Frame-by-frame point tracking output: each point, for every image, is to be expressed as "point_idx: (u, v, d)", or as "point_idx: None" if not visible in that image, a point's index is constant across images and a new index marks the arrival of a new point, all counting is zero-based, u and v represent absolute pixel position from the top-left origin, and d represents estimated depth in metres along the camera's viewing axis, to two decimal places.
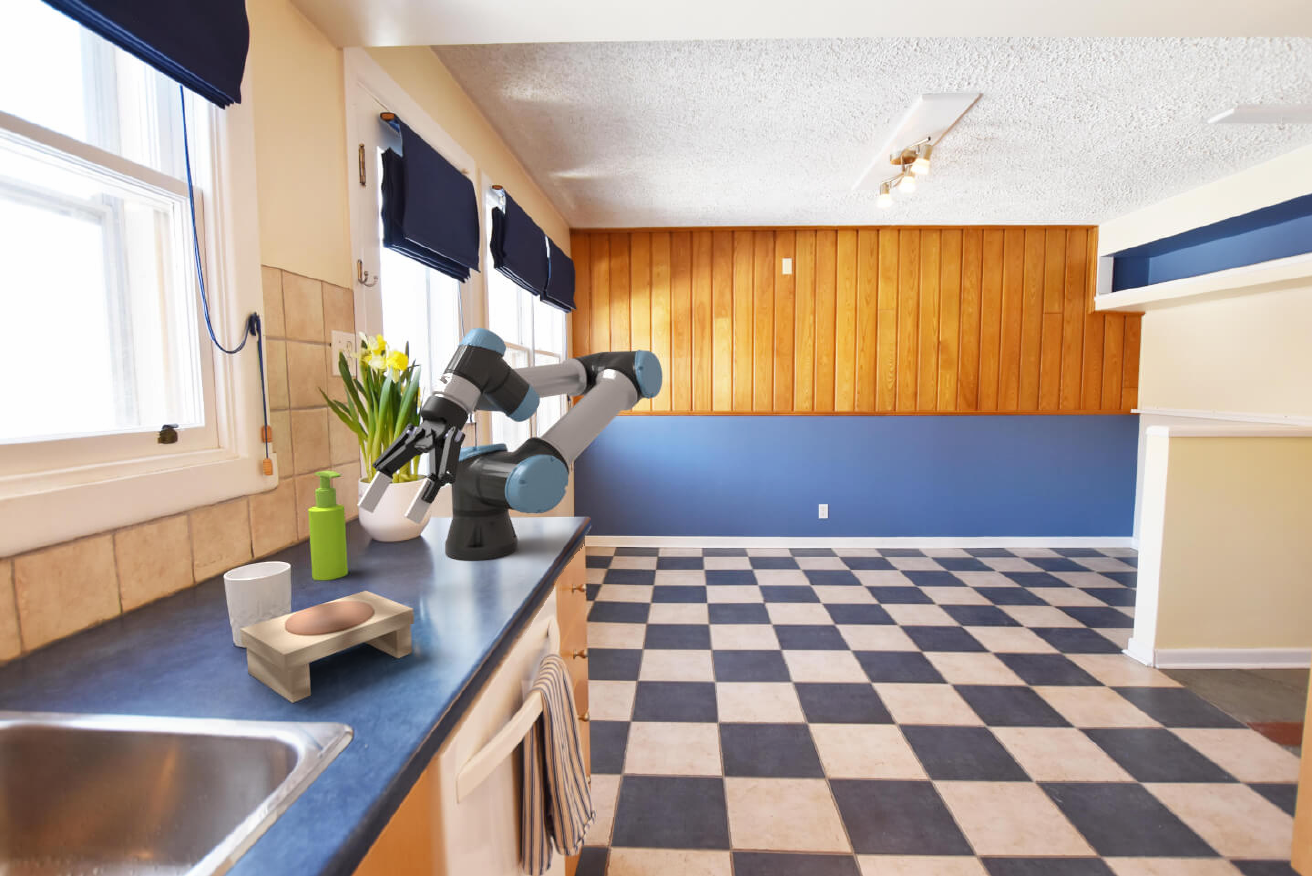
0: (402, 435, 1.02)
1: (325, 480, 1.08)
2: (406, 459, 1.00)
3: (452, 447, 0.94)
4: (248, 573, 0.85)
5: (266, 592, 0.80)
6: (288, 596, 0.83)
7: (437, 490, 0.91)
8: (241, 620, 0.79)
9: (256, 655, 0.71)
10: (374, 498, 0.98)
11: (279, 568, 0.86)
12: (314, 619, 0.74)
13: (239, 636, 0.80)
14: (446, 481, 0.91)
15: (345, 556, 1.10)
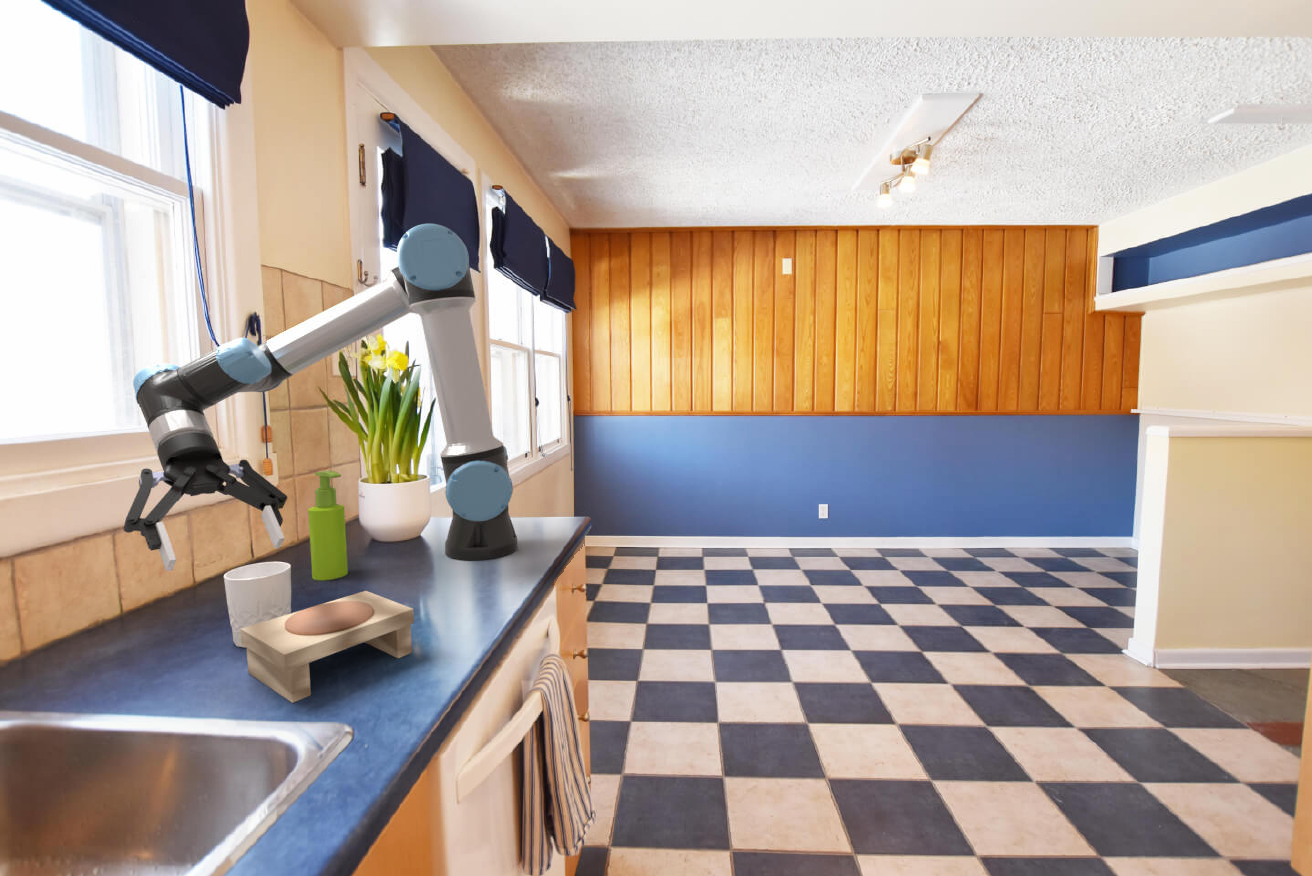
0: None
1: (325, 480, 1.08)
2: (241, 492, 0.92)
3: None
4: (248, 573, 0.85)
5: (266, 592, 0.80)
6: (288, 596, 0.83)
7: (146, 533, 0.81)
8: (241, 620, 0.79)
9: (256, 655, 0.71)
10: (272, 531, 0.92)
11: (279, 568, 0.86)
12: (314, 619, 0.74)
13: (239, 636, 0.80)
14: (131, 526, 0.80)
15: (345, 556, 1.10)
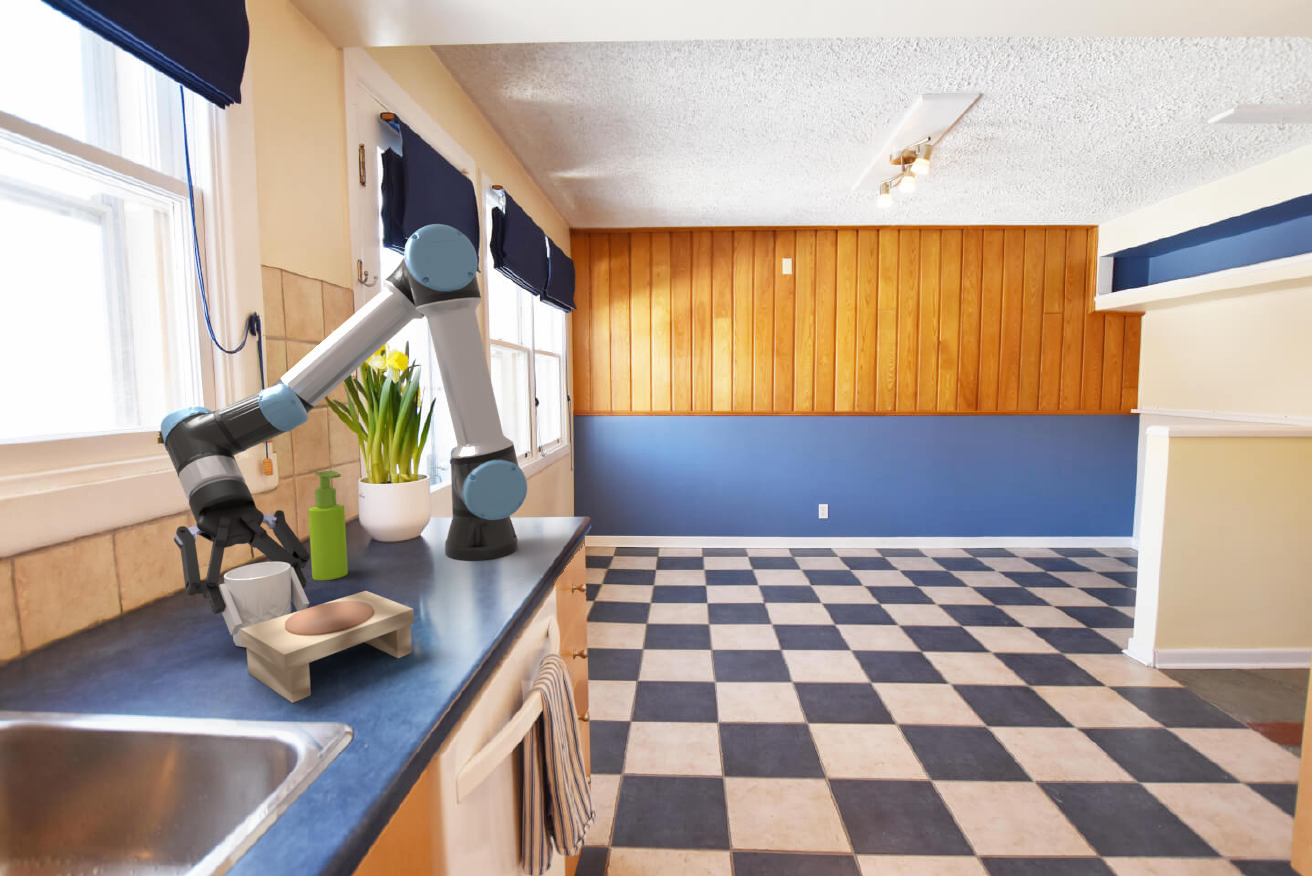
0: None
1: (325, 480, 1.08)
2: (267, 548, 0.87)
3: (182, 555, 0.80)
4: (248, 573, 0.85)
5: (266, 592, 0.80)
6: (288, 596, 0.83)
7: (209, 596, 0.78)
8: (241, 620, 0.79)
9: (256, 655, 0.71)
10: (296, 596, 0.85)
11: (279, 568, 0.86)
12: (314, 619, 0.74)
13: (239, 636, 0.80)
14: (194, 590, 0.78)
15: (345, 556, 1.10)
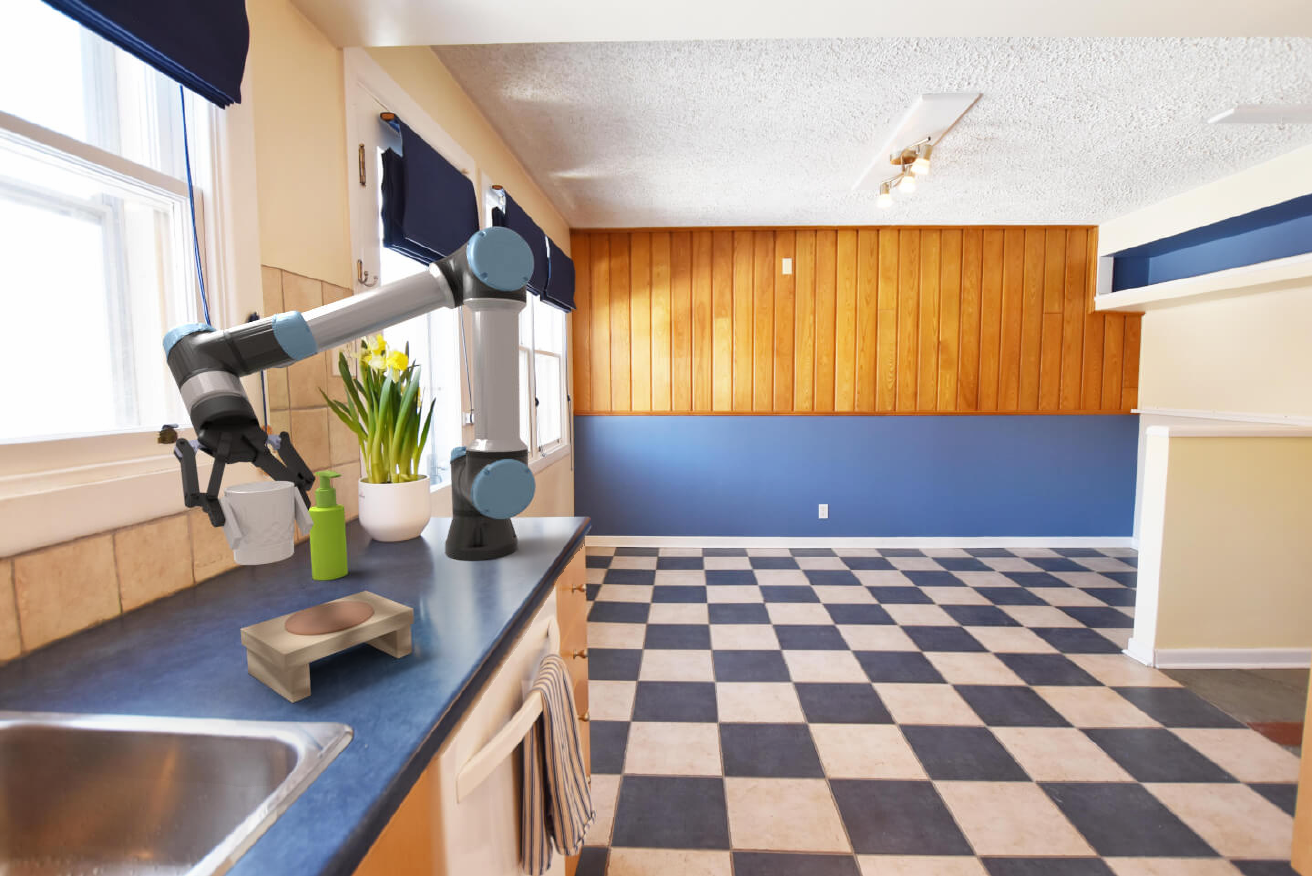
0: None
1: (325, 480, 1.08)
2: (271, 467, 0.83)
3: (182, 468, 0.76)
4: (250, 491, 0.81)
5: (268, 507, 0.76)
6: (291, 515, 0.79)
7: (209, 509, 0.74)
8: (242, 535, 0.76)
9: (256, 655, 0.71)
10: (300, 516, 0.81)
11: (283, 487, 0.82)
12: (314, 619, 0.74)
13: (240, 553, 0.76)
14: (193, 501, 0.74)
15: (345, 556, 1.10)
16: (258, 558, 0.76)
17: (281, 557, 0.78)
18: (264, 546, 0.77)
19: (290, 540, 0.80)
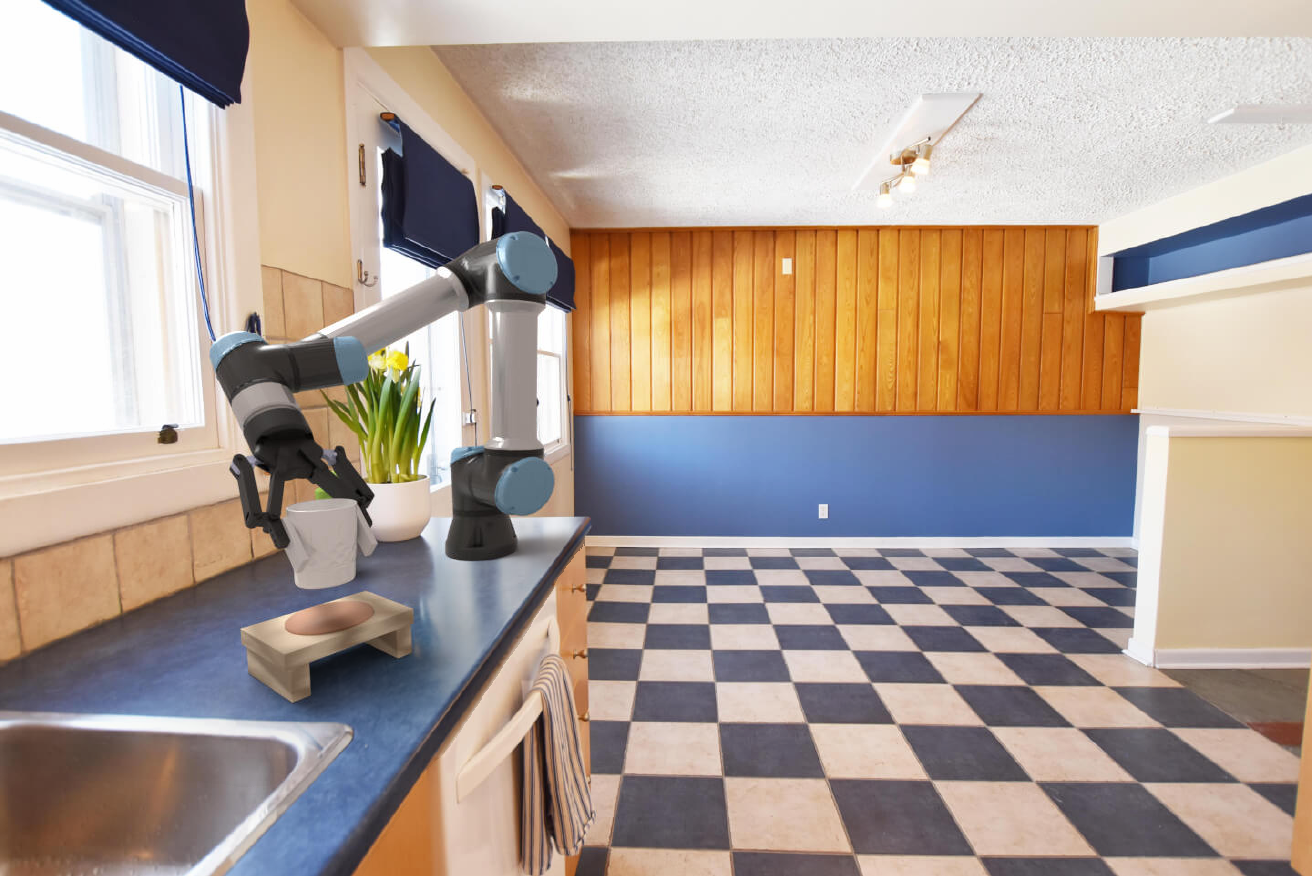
0: None
1: None
2: (329, 483, 0.78)
3: (240, 486, 0.72)
4: (309, 509, 0.76)
5: (334, 527, 0.71)
6: (355, 534, 0.75)
7: (272, 529, 0.69)
8: None
9: (256, 655, 0.71)
10: (362, 535, 0.76)
11: (343, 505, 0.77)
12: (314, 619, 0.74)
13: (303, 576, 0.71)
14: (255, 522, 0.69)
15: None
16: (323, 582, 0.72)
17: (345, 580, 0.74)
18: (328, 568, 0.72)
19: (353, 561, 0.75)
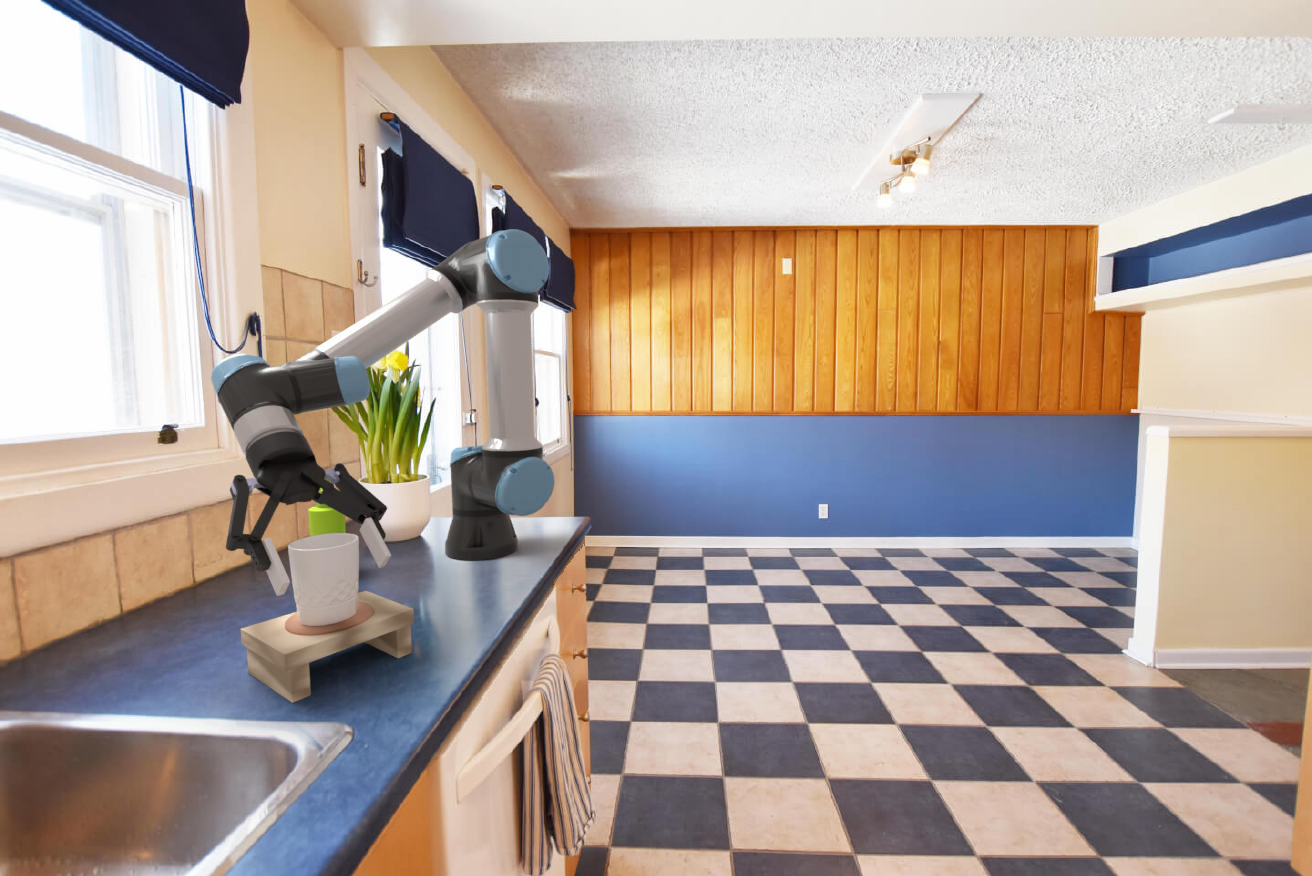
0: None
1: None
2: (339, 502, 0.80)
3: (233, 506, 0.72)
4: (312, 545, 0.76)
5: (335, 565, 0.72)
6: (356, 570, 0.75)
7: (253, 552, 0.69)
8: (307, 595, 0.71)
9: (256, 655, 0.71)
10: (376, 548, 0.79)
11: (345, 540, 0.78)
12: None
13: (305, 613, 0.72)
14: (235, 544, 0.68)
15: None
16: (324, 619, 0.72)
17: (347, 616, 0.74)
18: (330, 606, 0.72)
19: (355, 597, 0.75)
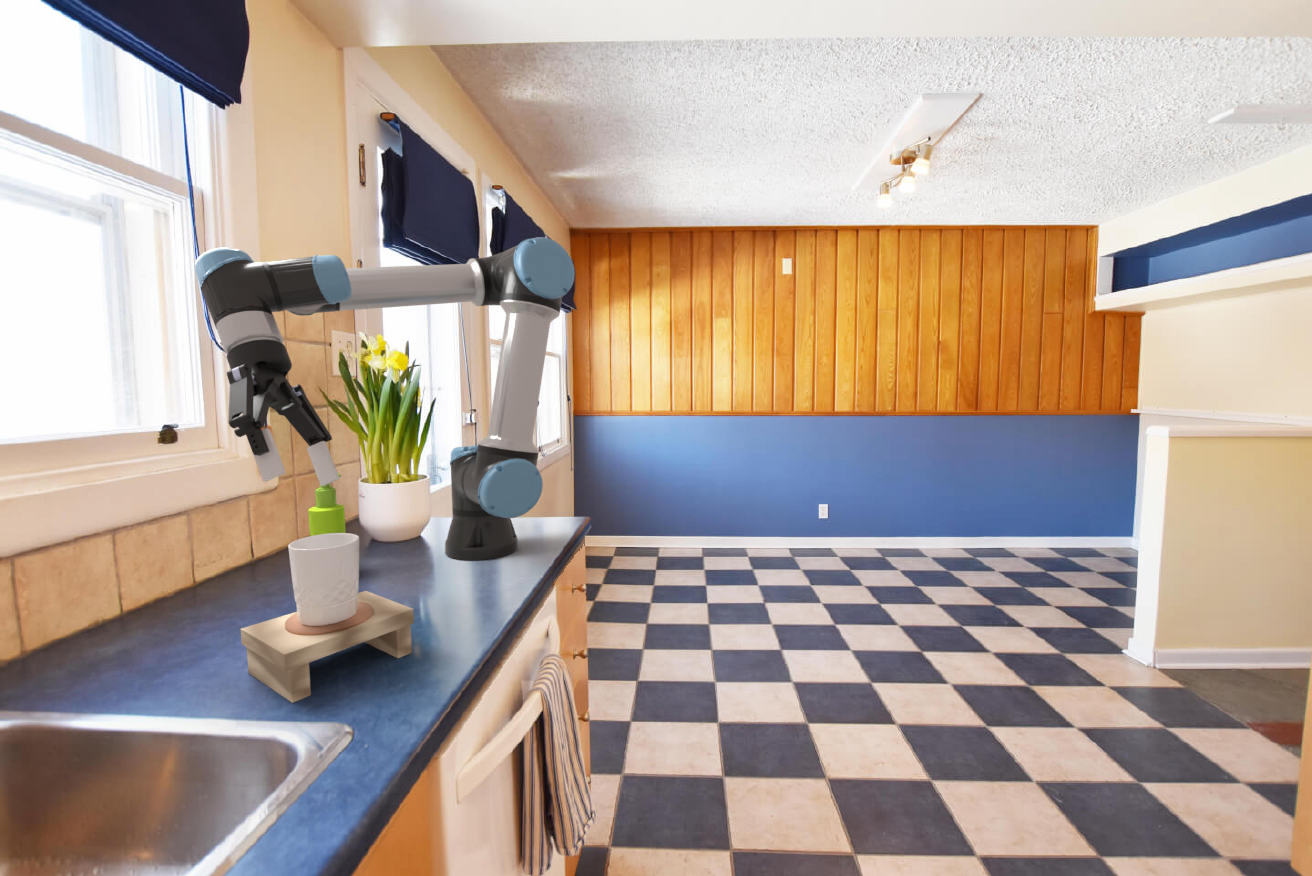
0: None
1: None
2: (302, 419, 0.89)
3: (234, 389, 0.77)
4: (312, 545, 0.76)
5: (335, 565, 0.72)
6: (357, 570, 0.75)
7: (255, 436, 0.76)
8: (307, 595, 0.71)
9: (256, 655, 0.71)
10: (325, 468, 0.90)
11: (345, 540, 0.78)
12: None
13: (305, 613, 0.72)
14: (243, 423, 0.75)
15: None
16: (324, 619, 0.72)
17: (347, 616, 0.74)
18: (330, 605, 0.72)
19: (355, 597, 0.75)
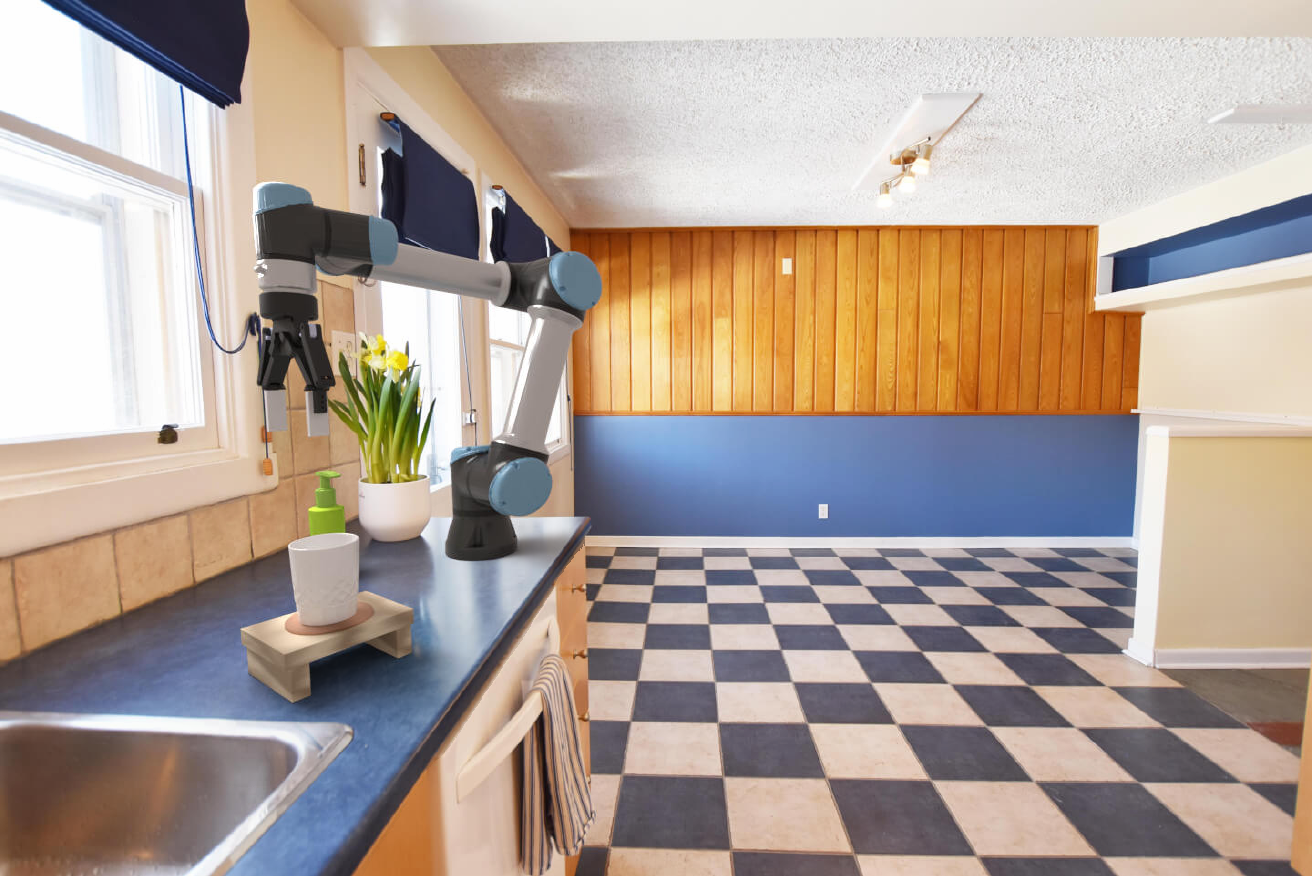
0: (263, 343, 0.91)
1: (325, 480, 1.08)
2: (284, 367, 0.91)
3: (313, 347, 0.83)
4: (312, 545, 0.76)
5: (335, 565, 0.72)
6: (356, 570, 0.75)
7: (324, 398, 0.84)
8: (307, 595, 0.71)
9: (256, 655, 0.71)
10: (279, 417, 0.93)
11: (345, 540, 0.78)
12: None
13: (305, 613, 0.72)
14: (327, 386, 0.83)
15: None
16: (324, 619, 0.72)
17: (347, 616, 0.74)
18: (330, 606, 0.72)
19: (355, 597, 0.75)
